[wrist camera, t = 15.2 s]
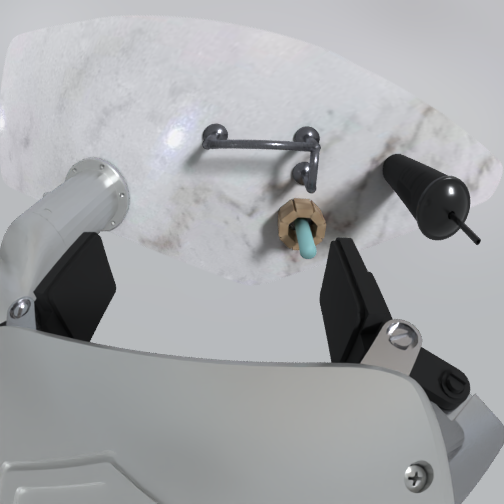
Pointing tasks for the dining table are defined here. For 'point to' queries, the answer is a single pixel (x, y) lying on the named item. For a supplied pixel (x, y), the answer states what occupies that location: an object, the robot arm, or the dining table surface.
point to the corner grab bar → (304, 138)
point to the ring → (294, 211)
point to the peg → (304, 237)
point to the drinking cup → (430, 197)
